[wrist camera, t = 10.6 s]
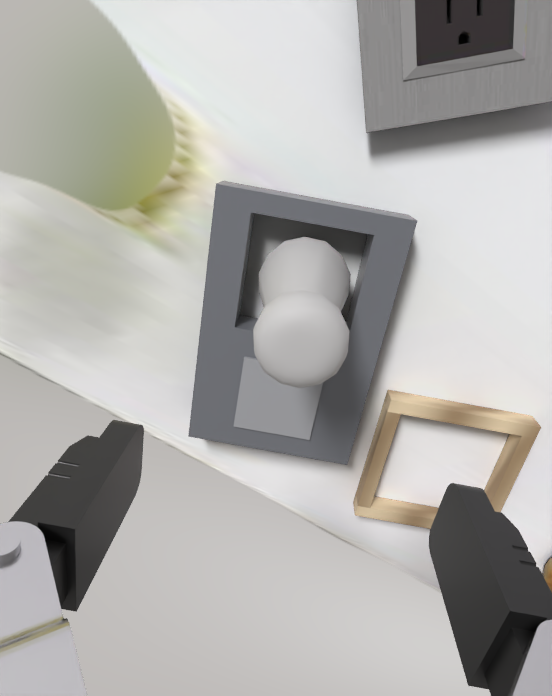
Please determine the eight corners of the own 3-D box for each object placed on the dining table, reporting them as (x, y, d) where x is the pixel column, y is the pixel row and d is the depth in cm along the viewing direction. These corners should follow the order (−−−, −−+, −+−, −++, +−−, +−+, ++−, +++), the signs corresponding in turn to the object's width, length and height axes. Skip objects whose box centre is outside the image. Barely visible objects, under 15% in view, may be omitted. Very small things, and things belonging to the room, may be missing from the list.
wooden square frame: (531, 415, 35) (541, 427, 33) (481, 525, 39) (487, 538, 38) (387, 389, 34) (390, 399, 33) (353, 502, 39) (354, 515, 38)
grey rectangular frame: (408, 214, 29) (417, 221, 27) (344, 445, 37) (347, 466, 34) (223, 181, 29) (215, 184, 27) (196, 418, 37) (187, 437, 34)
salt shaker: (358, 242, 30) (389, 304, 18) (334, 322, 33) (349, 422, 21) (271, 221, 30) (246, 270, 18) (254, 303, 32) (222, 393, 21)
